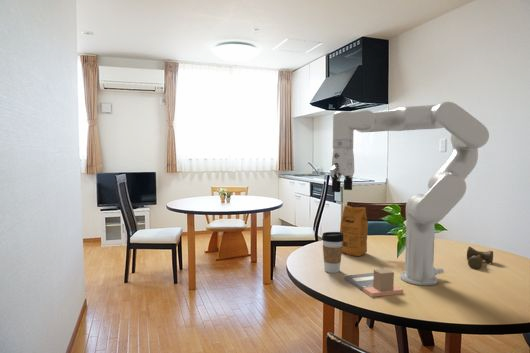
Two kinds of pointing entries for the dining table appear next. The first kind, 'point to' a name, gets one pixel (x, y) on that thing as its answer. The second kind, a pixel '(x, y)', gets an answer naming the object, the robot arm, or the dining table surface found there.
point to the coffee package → (354, 231)
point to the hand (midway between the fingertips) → (342, 190)
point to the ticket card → (361, 280)
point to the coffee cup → (332, 251)
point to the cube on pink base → (383, 284)
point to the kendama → (478, 257)
